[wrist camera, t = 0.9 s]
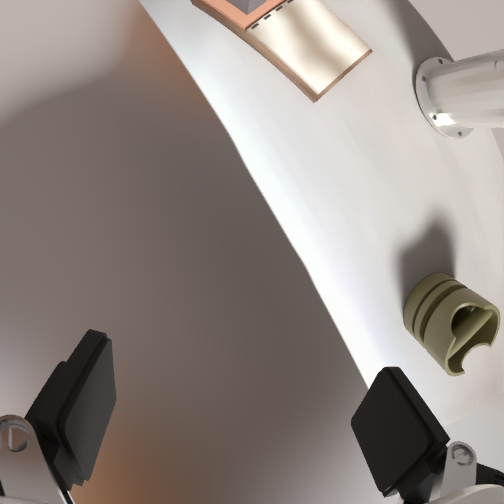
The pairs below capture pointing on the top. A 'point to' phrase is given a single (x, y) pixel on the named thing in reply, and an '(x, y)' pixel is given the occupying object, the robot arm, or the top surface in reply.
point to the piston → (449, 320)
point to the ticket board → (302, 43)
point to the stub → (243, 9)
